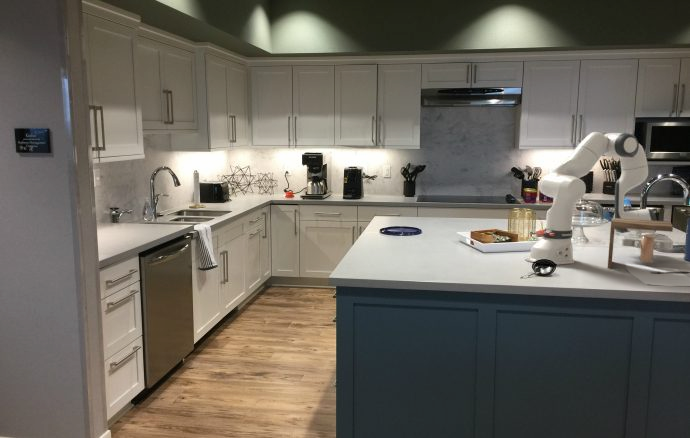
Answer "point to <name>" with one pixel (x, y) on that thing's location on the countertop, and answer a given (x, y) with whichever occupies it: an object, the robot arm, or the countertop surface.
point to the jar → (647, 247)
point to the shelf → (635, 225)
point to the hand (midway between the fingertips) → (647, 246)
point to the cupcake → (538, 231)
